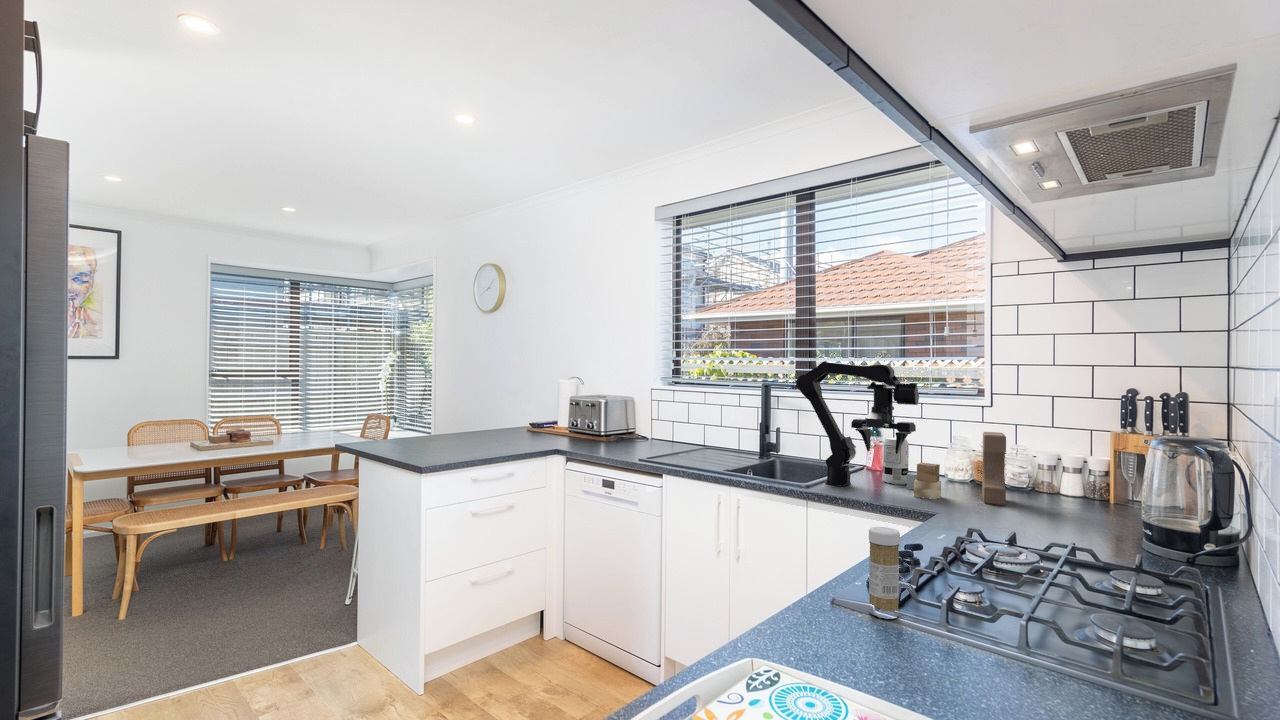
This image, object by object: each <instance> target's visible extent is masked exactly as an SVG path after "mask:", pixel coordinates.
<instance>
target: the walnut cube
mask: <svg viewBox="0 0 1280 720" xmlns="http://www.w3.org/2000/svg"><path fill="white" fill-rule="evenodd" d="M940 466H941V465H940V464H937V463H929V462H920V463H917V464H916V473H917V481H923V482H931V483H935V482H938V481H940V469H941V468H940Z"/></svg>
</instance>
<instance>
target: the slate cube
mask: <svg viewBox="0 0 1280 720" xmlns="http://www.w3.org/2000/svg"><path fill="white" fill-rule="evenodd" d="M914 480H917V472H914V471H908V473H907V483H906V490H908V489H914Z"/></svg>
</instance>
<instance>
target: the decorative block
mask: <svg viewBox="0 0 1280 720" xmlns="http://www.w3.org/2000/svg"><path fill="white" fill-rule="evenodd" d="M1006 453H1007V436H1006V435H1005V434H1004V433H1003V432H996V431H995V432H993V431H983V432H982V480H981V481H982V485H981V487H982V491H981V492H982V493H981V495H982V501H983V504H986V505H993V504H996V505H997V506H1003V505H1004V506H1006V504H1007V501H1006V499H1007V498H1006V493H1007V492H1006V491H1007V489H1006V480H1005V477H1006V476H1005V461H1006V460H1005V459H1006Z"/></svg>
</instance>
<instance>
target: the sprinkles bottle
mask: <svg viewBox="0 0 1280 720" xmlns="http://www.w3.org/2000/svg"><path fill="white" fill-rule="evenodd" d="M900 540H901V533H900V530H897V529H895V528H892V527H888V526H887V527H886V526H873V527H870V528H869V529H868V541H869V543H868V544H869V559H868V560H869V564H868V565H869V567H868V569H869V571H868V572H869V573H868V577H869V578H868V581H869V582H868V583H869V584H868V592H869V599H868V600H869V603H870V604H872V605H874V606H876V607H878V608H880V609H881V610H883V611H895V610H898V611H899V593H900V591H899V589H900V586H899V585H900V584H899V583H900V581H899V580H900V578H899V577H900V576H899V575H900V574H899V572H900V569H899V568H900V567H899V564H900V563H899V561H900V560H899V557H900V556H899V547H900V543H901V541H900Z"/></svg>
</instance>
